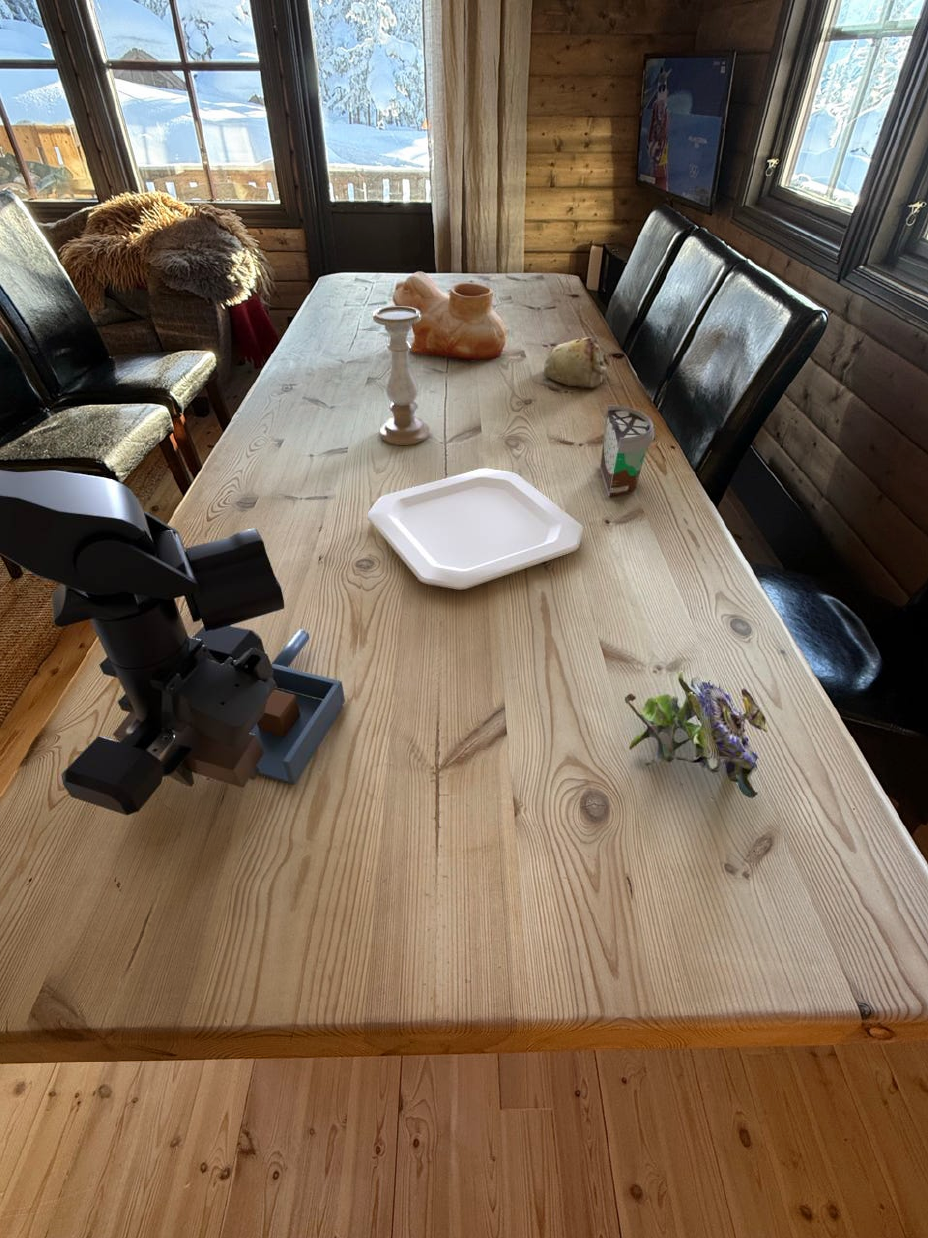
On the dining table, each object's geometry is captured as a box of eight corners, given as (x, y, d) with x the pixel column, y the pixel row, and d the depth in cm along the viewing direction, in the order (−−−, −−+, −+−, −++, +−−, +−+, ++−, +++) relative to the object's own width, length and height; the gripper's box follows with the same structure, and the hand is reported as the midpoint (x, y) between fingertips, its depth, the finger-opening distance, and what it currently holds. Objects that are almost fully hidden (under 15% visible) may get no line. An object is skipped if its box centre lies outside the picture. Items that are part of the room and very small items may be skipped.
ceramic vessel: (412, 332, 158) (408, 263, 148) (514, 346, 150) (518, 274, 140) (384, 350, 148) (378, 278, 138) (492, 367, 140) (494, 291, 131)
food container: (651, 502, 98) (664, 439, 92) (610, 502, 98) (620, 439, 92) (636, 463, 108) (647, 403, 101) (598, 463, 108) (607, 403, 101)
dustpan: (294, 785, 61) (288, 763, 58) (148, 741, 64) (137, 719, 62) (372, 659, 73) (370, 637, 71) (246, 629, 77) (240, 607, 75)
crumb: (252, 709, 63) (269, 687, 65) (258, 729, 65) (274, 707, 67) (279, 717, 62) (295, 695, 65) (285, 737, 64) (300, 715, 67)
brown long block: (131, 757, 60) (112, 734, 57) (155, 725, 62) (138, 701, 59) (246, 793, 57) (233, 770, 54) (267, 758, 59) (255, 734, 56)
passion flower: (713, 797, 66) (798, 797, 54) (612, 799, 63) (680, 800, 52) (700, 685, 69) (779, 663, 57) (604, 683, 66) (666, 659, 55)
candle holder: (389, 449, 111) (379, 324, 98) (373, 429, 118) (361, 308, 104) (437, 440, 114) (433, 316, 101) (419, 420, 120) (413, 301, 107)
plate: (599, 552, 88) (601, 538, 87) (435, 610, 79) (434, 595, 78) (502, 474, 105) (502, 461, 103) (357, 514, 96) (355, 501, 94)
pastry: (615, 386, 132) (621, 345, 127) (556, 392, 130) (560, 350, 125) (589, 362, 142) (594, 323, 137) (534, 367, 140) (537, 328, 135)
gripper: (156, 765, 41) (216, 888, 51) (302, 591, 55) (327, 715, 65) (16, 722, 44) (100, 847, 54) (188, 566, 57) (229, 689, 68)
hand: (200, 768), depth 60 cm, fingers closed on brown long block, 3 cm apart
